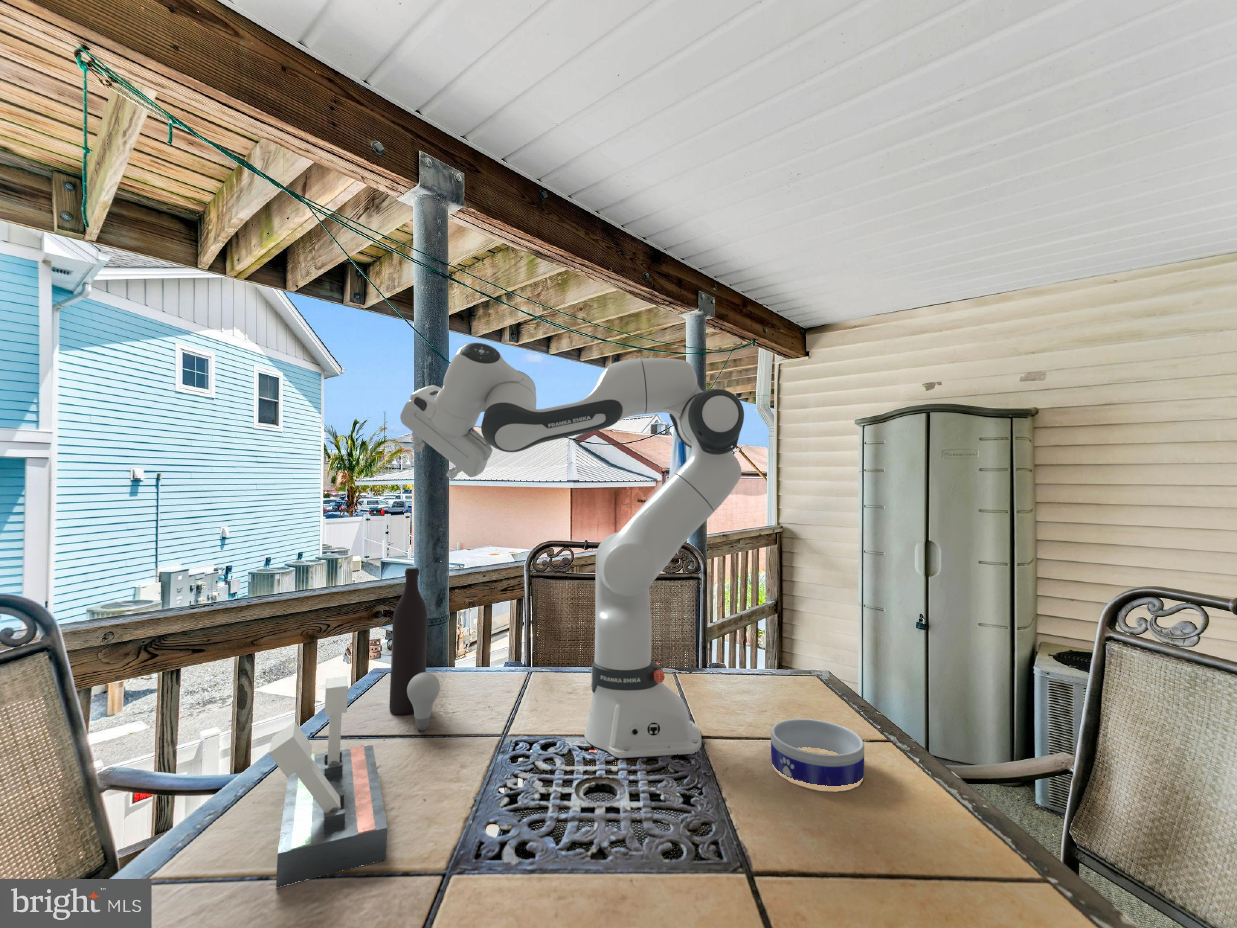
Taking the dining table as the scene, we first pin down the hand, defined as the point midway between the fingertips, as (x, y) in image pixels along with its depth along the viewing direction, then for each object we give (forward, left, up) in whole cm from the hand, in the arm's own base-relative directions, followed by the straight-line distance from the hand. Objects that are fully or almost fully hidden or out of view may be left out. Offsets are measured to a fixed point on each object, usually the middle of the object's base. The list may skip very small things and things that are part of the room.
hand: (434, 462), depth 120 cm
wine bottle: (+5, -3, -53) cm, 53 cm away
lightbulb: (-2, +7, -53) cm, 53 cm away
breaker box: (0, +37, -53) cm, 64 cm away
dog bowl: (-75, +18, -53) cm, 93 cm away
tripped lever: (+3, +31, -48) cm, 57 cm away
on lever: (-4, +43, -48) cm, 64 cm away
